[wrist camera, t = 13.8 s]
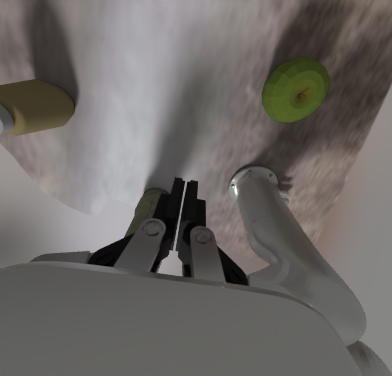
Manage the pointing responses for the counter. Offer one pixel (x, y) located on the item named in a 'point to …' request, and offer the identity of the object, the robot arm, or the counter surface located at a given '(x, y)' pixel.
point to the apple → (295, 89)
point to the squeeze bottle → (33, 107)
